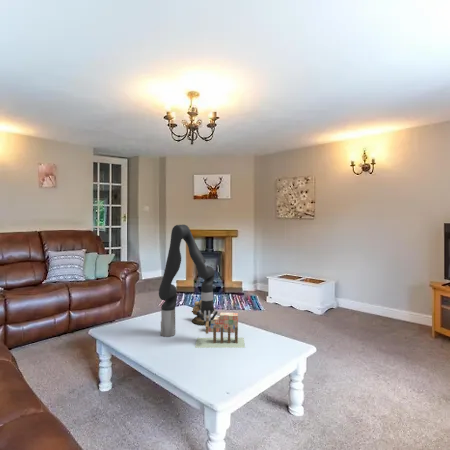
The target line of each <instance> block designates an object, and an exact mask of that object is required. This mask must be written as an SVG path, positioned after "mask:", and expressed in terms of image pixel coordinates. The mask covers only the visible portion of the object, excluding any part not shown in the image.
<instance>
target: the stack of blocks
mask: <svg viewBox="0 0 450 450" xmlns="http://www.w3.org/2000/svg"><path fill="white" fill-rule="evenodd" d="M213 325H216V333H221V325H223V333H227V334H228V325H230V334H231V333H232V334H235V325H237V326H238V327H239V313H238V312H236V313H235V312H220V313H219V316H215V318H214V319H213V320H211V325H210V327H209V332H208V333H213Z"/></svg>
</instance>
